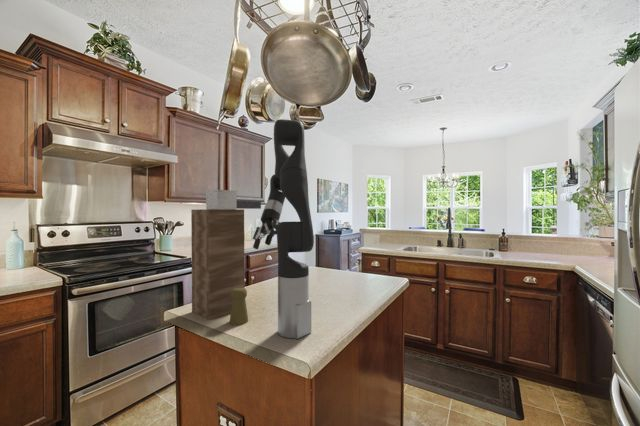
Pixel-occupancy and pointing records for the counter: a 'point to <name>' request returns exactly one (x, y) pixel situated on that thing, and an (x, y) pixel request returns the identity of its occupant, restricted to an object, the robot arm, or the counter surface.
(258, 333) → the counter surface
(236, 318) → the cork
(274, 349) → the counter surface
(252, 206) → the meat mallet
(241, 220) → the tall wooden block
